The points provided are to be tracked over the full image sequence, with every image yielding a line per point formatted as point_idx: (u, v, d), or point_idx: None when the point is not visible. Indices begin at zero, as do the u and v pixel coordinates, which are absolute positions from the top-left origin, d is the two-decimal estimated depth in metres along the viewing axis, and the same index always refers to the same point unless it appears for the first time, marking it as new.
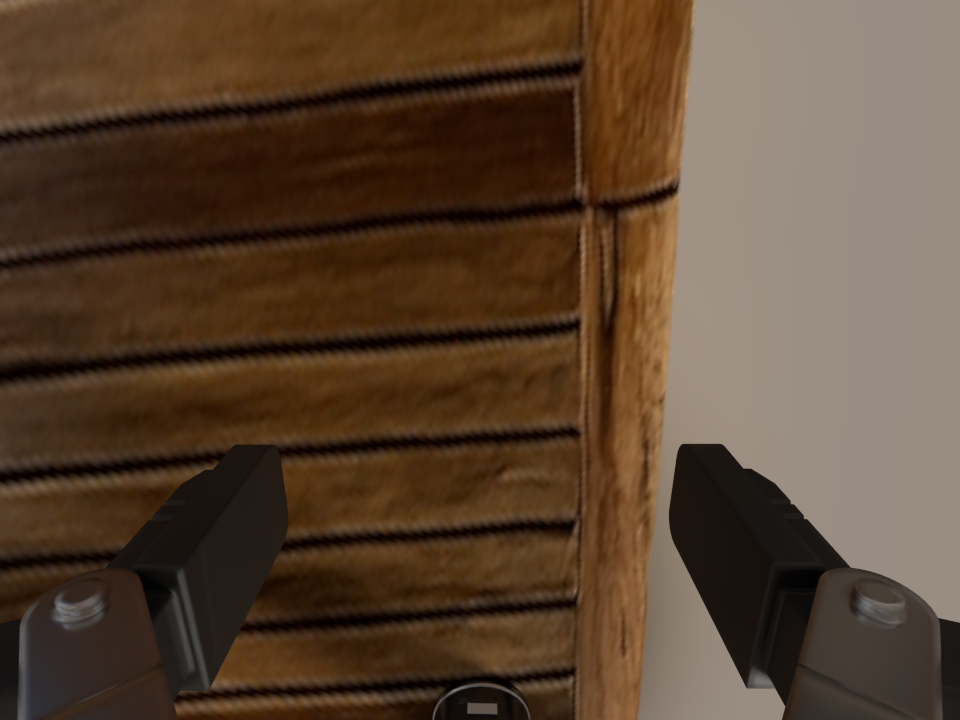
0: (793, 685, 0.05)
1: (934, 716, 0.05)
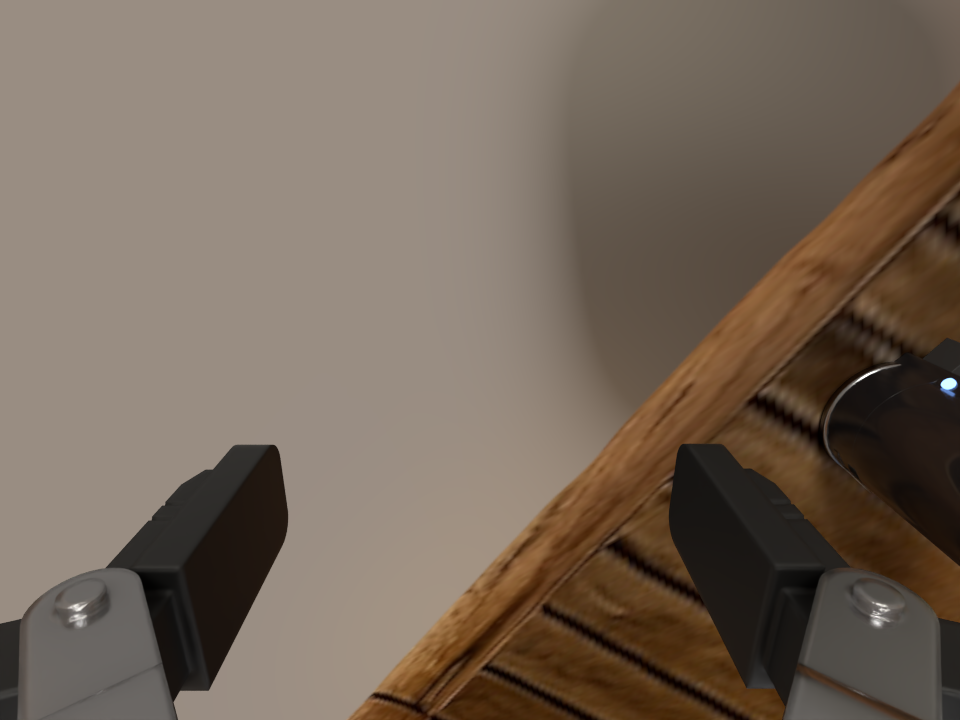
0: (793, 685, 0.05)
1: (934, 715, 0.05)
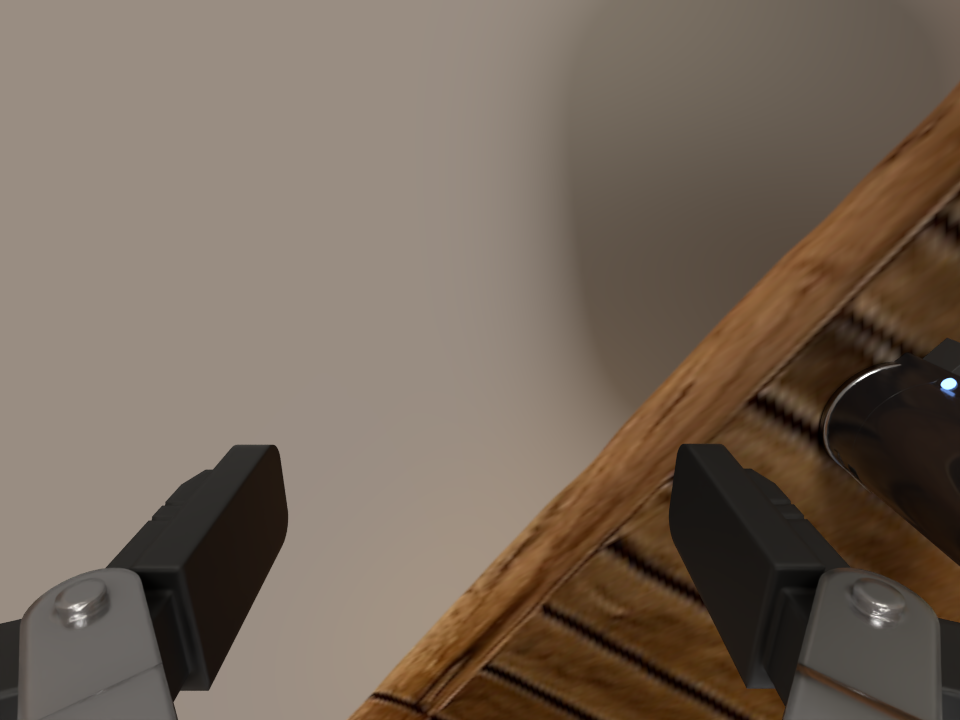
0: (793, 685, 0.05)
1: (934, 715, 0.05)
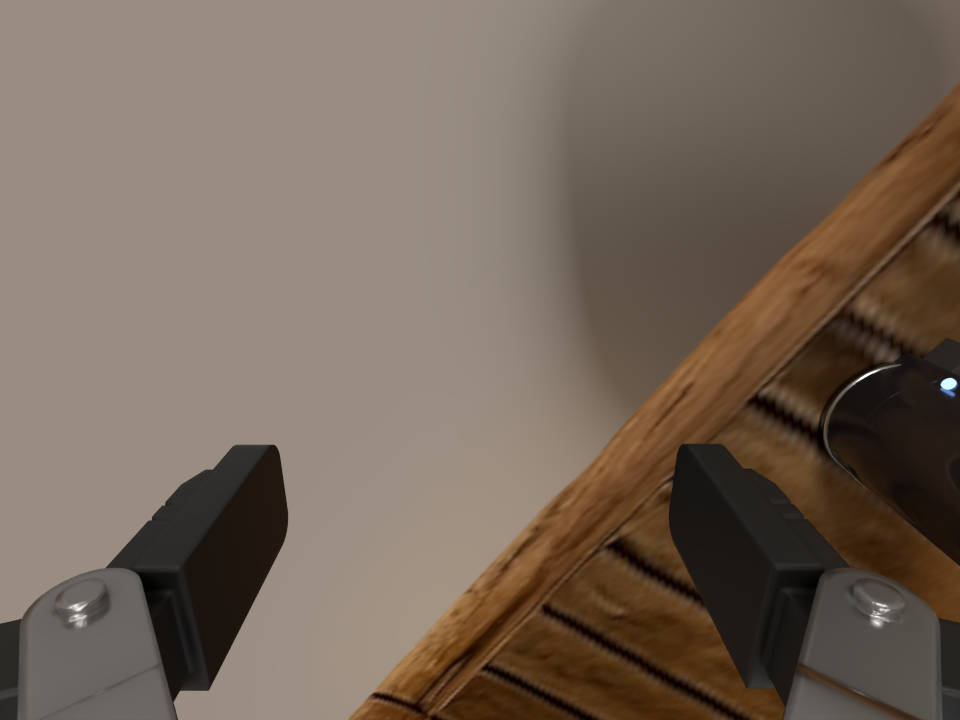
0: (793, 685, 0.05)
1: (934, 715, 0.05)
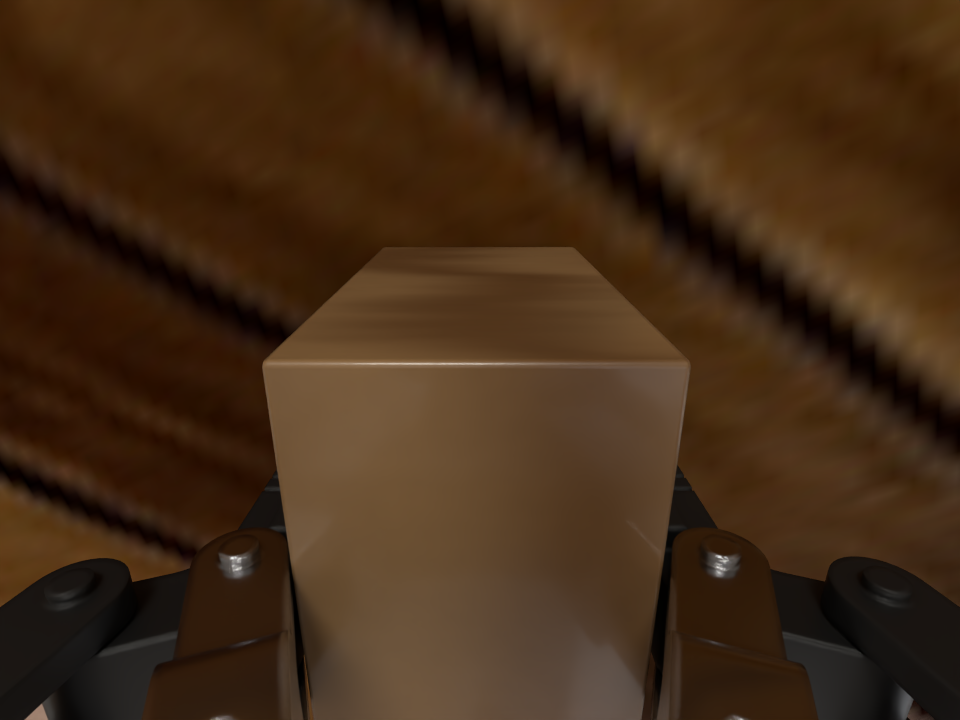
0: (672, 654, 0.05)
1: (736, 645, 0.06)
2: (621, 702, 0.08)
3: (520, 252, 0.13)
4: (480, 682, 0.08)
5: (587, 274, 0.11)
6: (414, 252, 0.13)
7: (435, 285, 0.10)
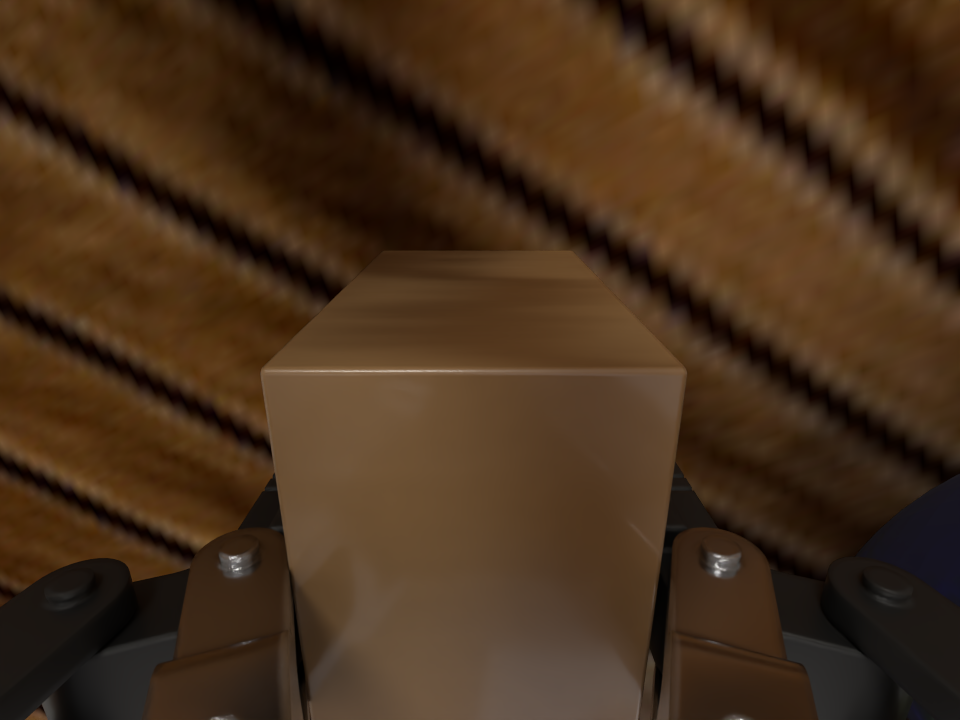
0: (672, 654, 0.05)
1: (736, 645, 0.06)
2: (618, 707, 0.08)
3: (519, 256, 0.13)
4: (477, 686, 0.08)
5: (586, 278, 0.11)
6: (413, 256, 0.13)
7: (433, 290, 0.10)
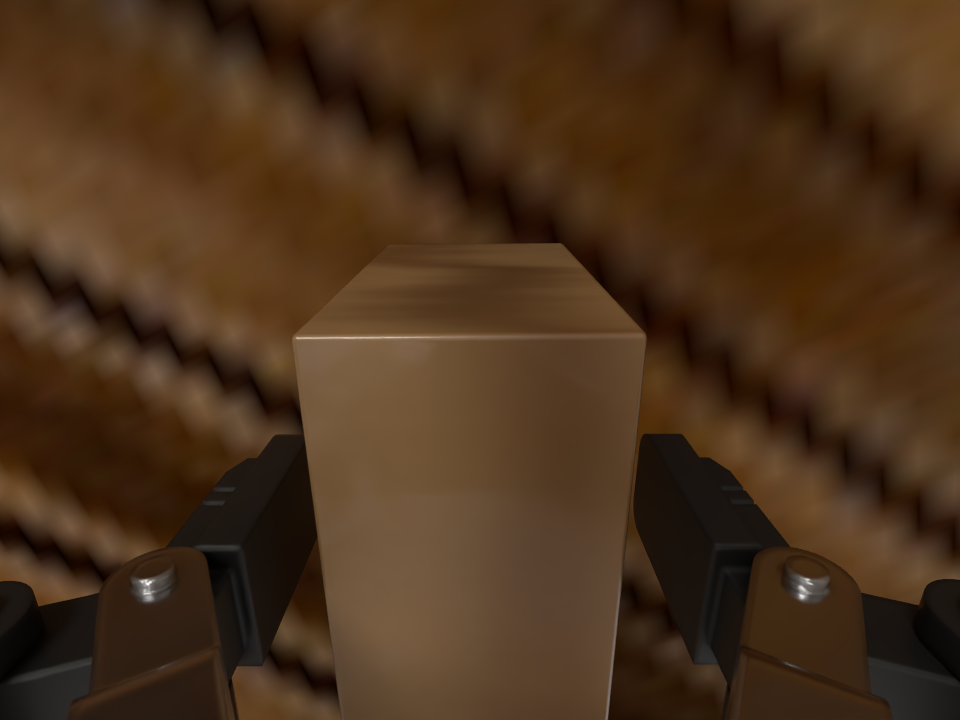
0: (739, 667, 0.05)
1: (842, 678, 0.06)
2: (597, 632, 0.09)
3: (512, 248, 0.14)
4: (475, 614, 0.09)
5: (571, 266, 0.12)
6: (416, 248, 0.14)
7: (435, 276, 0.11)
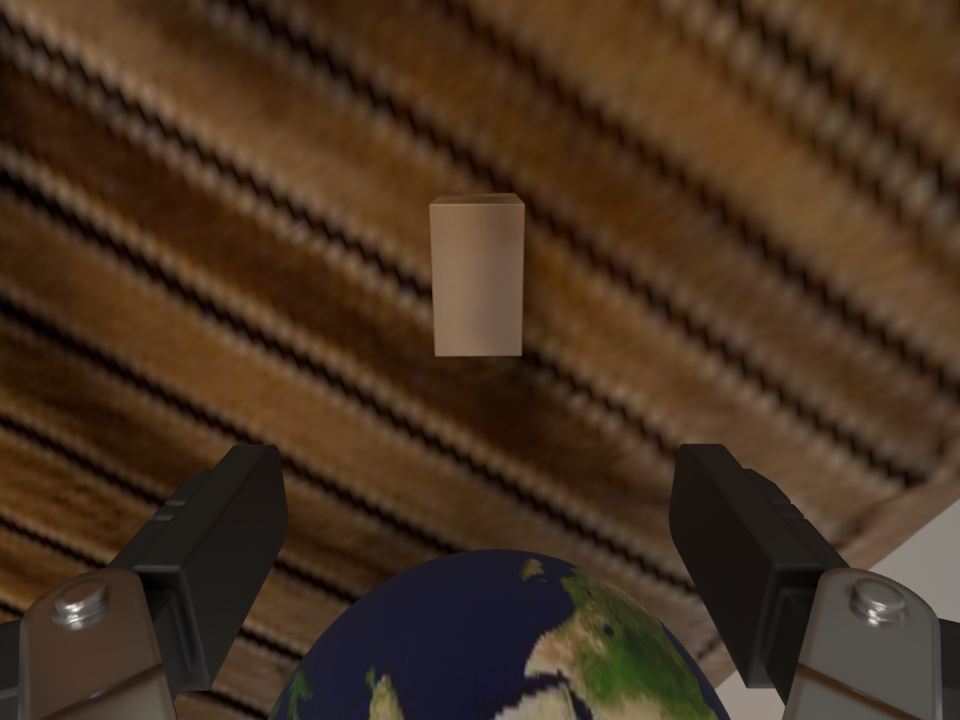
0: (793, 684, 0.05)
1: (934, 716, 0.05)
2: (516, 304, 0.30)
3: (493, 194, 0.35)
4: (478, 297, 0.30)
5: (513, 196, 0.32)
6: (453, 194, 0.35)
7: (464, 198, 0.32)
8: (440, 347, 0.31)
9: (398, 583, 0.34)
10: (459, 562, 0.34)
